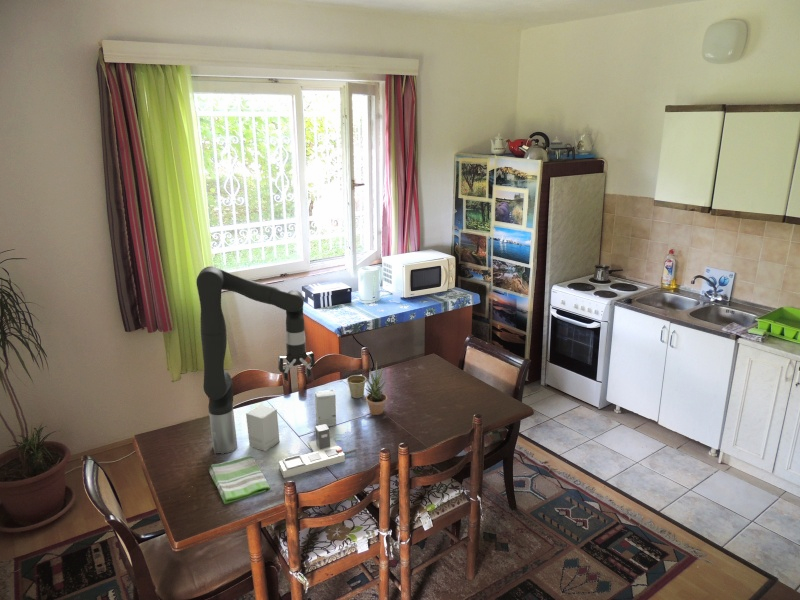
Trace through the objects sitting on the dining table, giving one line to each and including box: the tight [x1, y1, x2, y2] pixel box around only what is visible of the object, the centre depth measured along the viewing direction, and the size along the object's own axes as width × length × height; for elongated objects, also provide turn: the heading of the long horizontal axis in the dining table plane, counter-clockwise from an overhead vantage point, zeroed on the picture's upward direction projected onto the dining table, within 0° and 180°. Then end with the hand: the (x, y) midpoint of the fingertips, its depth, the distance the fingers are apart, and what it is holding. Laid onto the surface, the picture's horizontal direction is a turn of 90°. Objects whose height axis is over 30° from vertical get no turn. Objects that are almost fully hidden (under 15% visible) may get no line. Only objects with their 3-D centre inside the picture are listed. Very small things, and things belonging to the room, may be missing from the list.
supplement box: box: [245, 404, 281, 452], centre depth 230 cm, size 9×9×15 cm
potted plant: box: [364, 361, 388, 416], centre depth 253 cm, size 10×10×25 cm
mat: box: [307, 435, 339, 453], centre depth 229 cm, size 10×10×1 cm
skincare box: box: [314, 389, 337, 427], centre depth 245 cm, size 8×6×15 cm
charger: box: [314, 424, 331, 449], centre depth 228 cm, size 4×5×8 cm
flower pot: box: [346, 374, 367, 399], centre depth 271 cm, size 9×9×9 cm
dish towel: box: [208, 455, 271, 505], centre depth 208 cm, size 17×23×4 cm
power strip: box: [278, 445, 357, 479], centre depth 218 cm, size 30×7×4 cm, turn 116°
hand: (297, 378), depth 227 cm, fingers open, 8 cm apart
